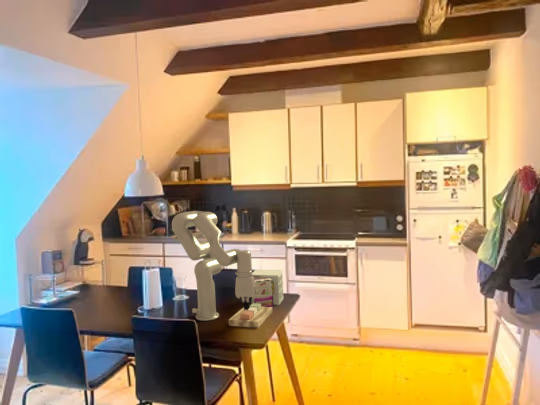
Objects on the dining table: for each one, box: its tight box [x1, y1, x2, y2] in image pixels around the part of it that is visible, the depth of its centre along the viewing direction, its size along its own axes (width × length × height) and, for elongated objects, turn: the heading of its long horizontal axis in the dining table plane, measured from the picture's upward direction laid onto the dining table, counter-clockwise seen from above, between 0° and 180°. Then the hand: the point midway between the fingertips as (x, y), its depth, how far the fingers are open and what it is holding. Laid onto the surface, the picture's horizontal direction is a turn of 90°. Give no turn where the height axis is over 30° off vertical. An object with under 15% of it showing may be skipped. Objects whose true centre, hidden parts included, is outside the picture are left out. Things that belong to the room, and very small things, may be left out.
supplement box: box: [250, 269, 284, 306], centre depth 267 cm, size 17×13×18 cm
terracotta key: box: [240, 311, 253, 320], centre depth 231 cm, size 5×5×3 cm
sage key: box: [250, 303, 261, 311], centre depth 244 cm, size 5×5×3 cm
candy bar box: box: [253, 278, 274, 308], centre depth 256 cm, size 11×5×16 cm, turn 105°
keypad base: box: [228, 306, 273, 329], centre depth 237 cm, size 16×24×3 cm, turn 162°
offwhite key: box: [245, 307, 257, 316], centre depth 237 cm, size 5×5×3 cm
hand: (246, 309), depth 230 cm, fingers closed
